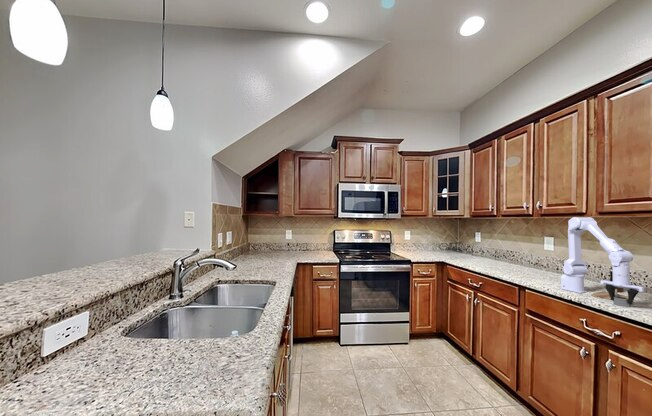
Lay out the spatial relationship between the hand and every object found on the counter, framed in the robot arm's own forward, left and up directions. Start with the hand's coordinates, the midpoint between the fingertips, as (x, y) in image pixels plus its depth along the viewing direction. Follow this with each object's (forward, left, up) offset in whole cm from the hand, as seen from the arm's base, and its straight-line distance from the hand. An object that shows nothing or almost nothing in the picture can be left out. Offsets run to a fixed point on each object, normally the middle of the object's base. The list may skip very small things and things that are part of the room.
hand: (621, 302), depth 129 cm
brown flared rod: (-13, +31, -2) cm, 34 cm away
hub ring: (0, 0, -1) cm, 1 cm away
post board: (-8, +12, -1) cm, 14 cm away
